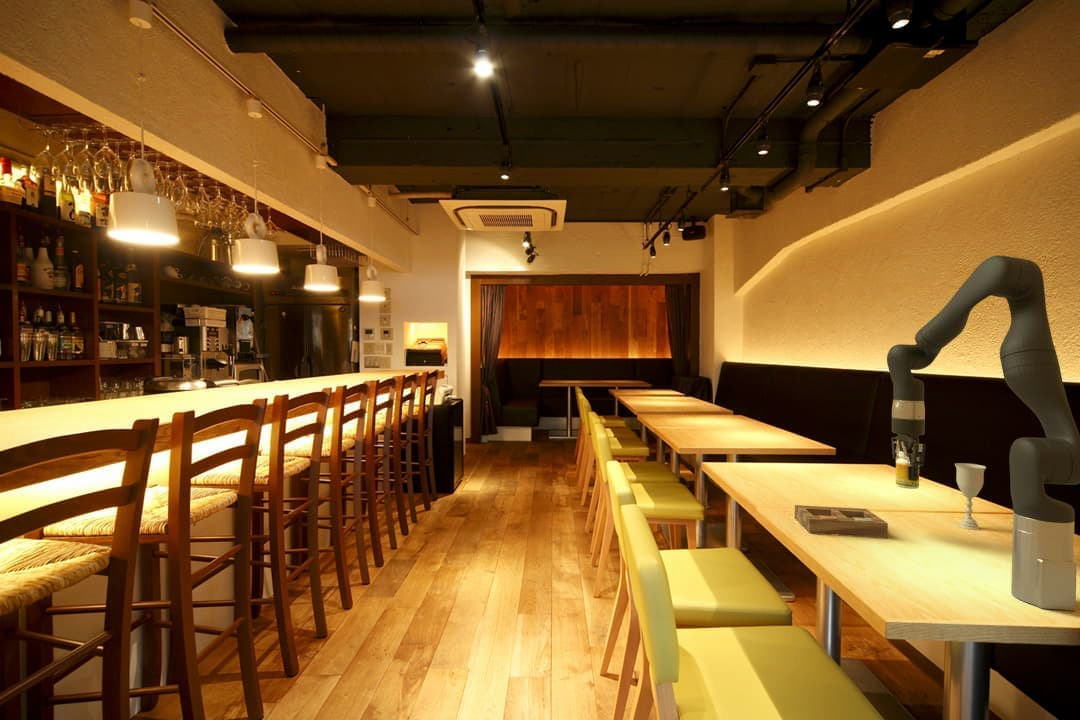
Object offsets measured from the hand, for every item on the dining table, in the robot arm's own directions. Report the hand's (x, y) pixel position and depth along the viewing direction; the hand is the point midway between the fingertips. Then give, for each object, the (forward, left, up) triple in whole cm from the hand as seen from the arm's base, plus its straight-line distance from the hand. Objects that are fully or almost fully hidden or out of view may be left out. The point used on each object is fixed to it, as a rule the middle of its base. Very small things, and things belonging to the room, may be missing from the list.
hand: (907, 477), depth 150 cm
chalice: (+12, -22, -16) cm, 30 cm away
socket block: (+4, +16, -16) cm, 23 cm away
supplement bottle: (0, 0, -3) cm, 3 cm away
